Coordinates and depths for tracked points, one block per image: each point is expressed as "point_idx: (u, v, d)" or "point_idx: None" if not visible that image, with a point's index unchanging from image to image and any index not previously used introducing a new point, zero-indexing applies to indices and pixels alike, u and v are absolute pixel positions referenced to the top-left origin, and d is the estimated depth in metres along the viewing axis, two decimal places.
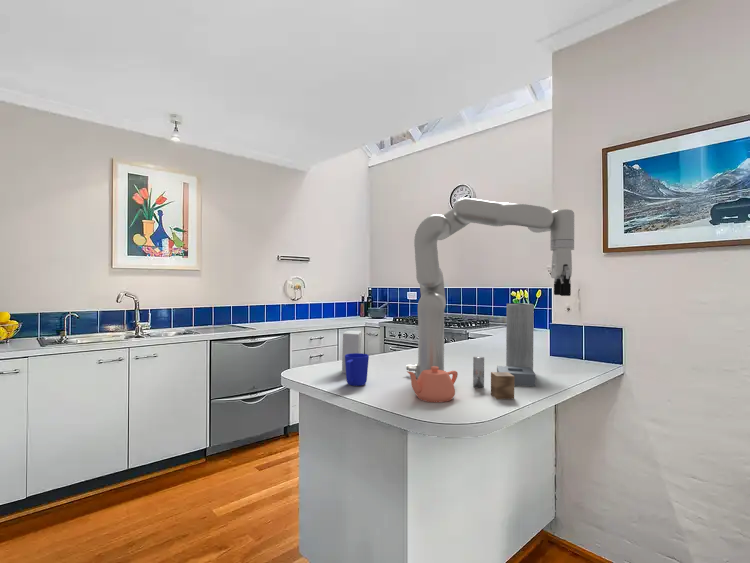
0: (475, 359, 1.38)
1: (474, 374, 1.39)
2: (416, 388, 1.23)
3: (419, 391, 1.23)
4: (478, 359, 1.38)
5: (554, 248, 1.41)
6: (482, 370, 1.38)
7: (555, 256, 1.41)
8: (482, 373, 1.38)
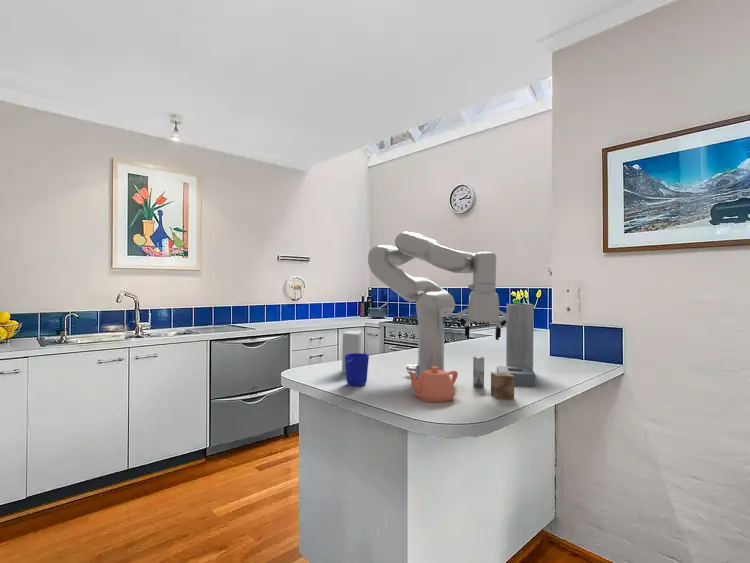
0: (475, 359, 1.38)
1: (474, 374, 1.39)
2: (416, 388, 1.23)
3: (419, 391, 1.23)
4: (478, 359, 1.38)
5: (491, 291, 1.37)
6: (482, 370, 1.38)
7: (492, 300, 1.38)
8: (482, 373, 1.38)
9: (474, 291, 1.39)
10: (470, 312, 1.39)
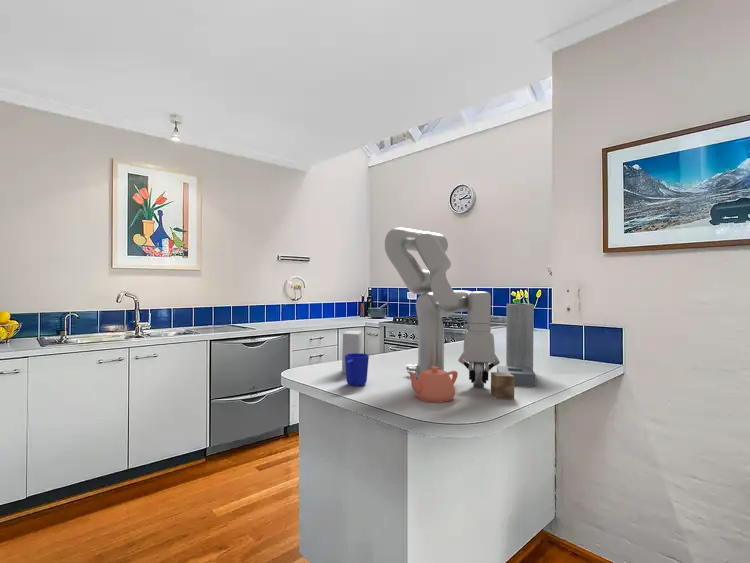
0: None
1: (474, 374, 1.39)
2: (416, 388, 1.23)
3: (419, 391, 1.23)
4: None
5: (486, 331, 1.36)
6: (482, 370, 1.38)
7: (487, 340, 1.36)
8: (482, 373, 1.38)
9: (469, 331, 1.39)
10: (465, 352, 1.38)
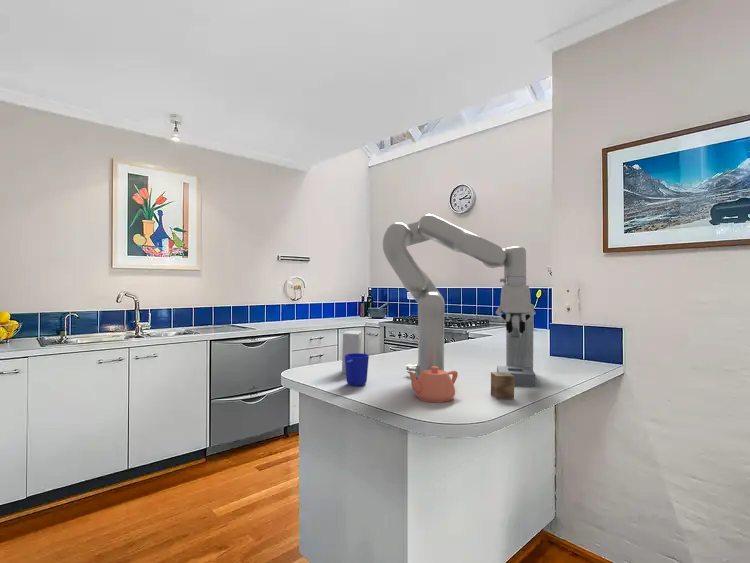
0: None
1: (511, 325, 1.47)
2: (416, 388, 1.23)
3: (419, 391, 1.23)
4: None
5: (522, 284, 1.45)
6: (519, 321, 1.46)
7: (523, 292, 1.45)
8: (519, 323, 1.46)
9: (506, 284, 1.47)
10: (503, 304, 1.46)
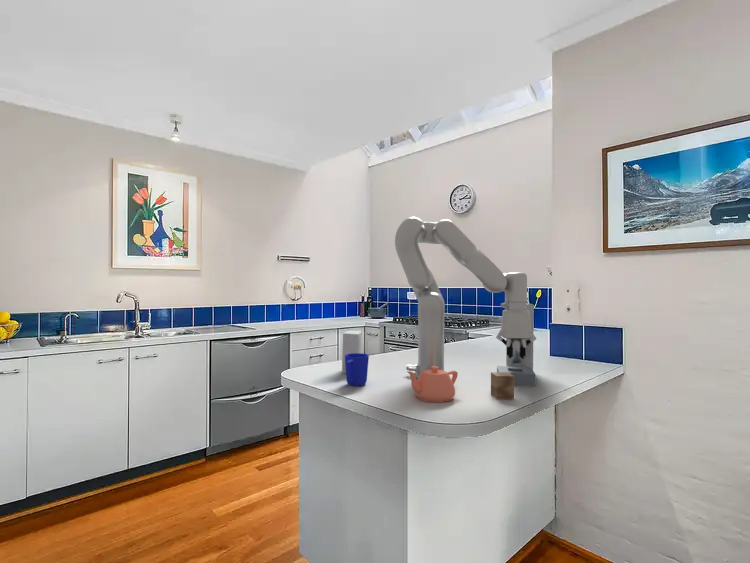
0: None
1: (512, 350, 1.47)
2: (416, 388, 1.23)
3: (419, 391, 1.23)
4: None
5: (523, 309, 1.45)
6: (519, 346, 1.47)
7: (524, 318, 1.45)
8: (519, 349, 1.47)
9: (507, 309, 1.47)
10: (503, 329, 1.47)
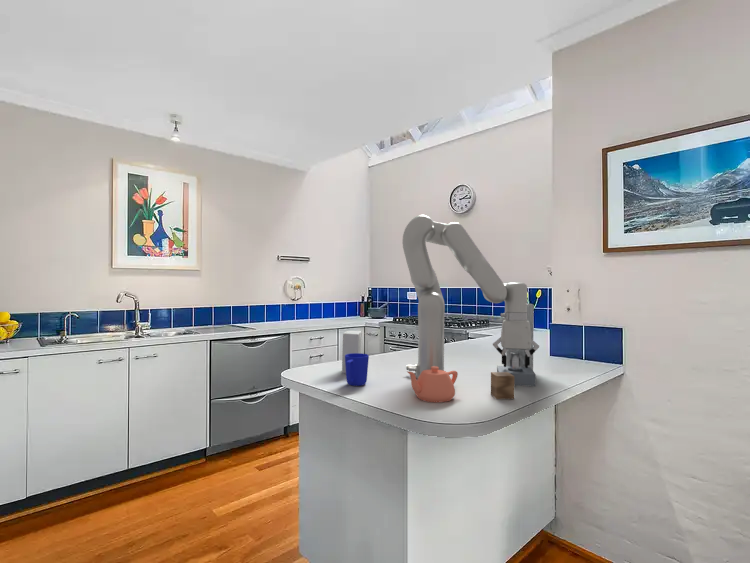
0: (512, 355, 1.47)
1: (511, 369, 1.48)
2: (416, 388, 1.23)
3: (419, 391, 1.23)
4: (515, 355, 1.46)
5: (523, 320, 1.45)
6: (519, 365, 1.47)
7: (524, 328, 1.45)
8: (519, 368, 1.47)
9: (506, 320, 1.47)
10: (503, 340, 1.47)
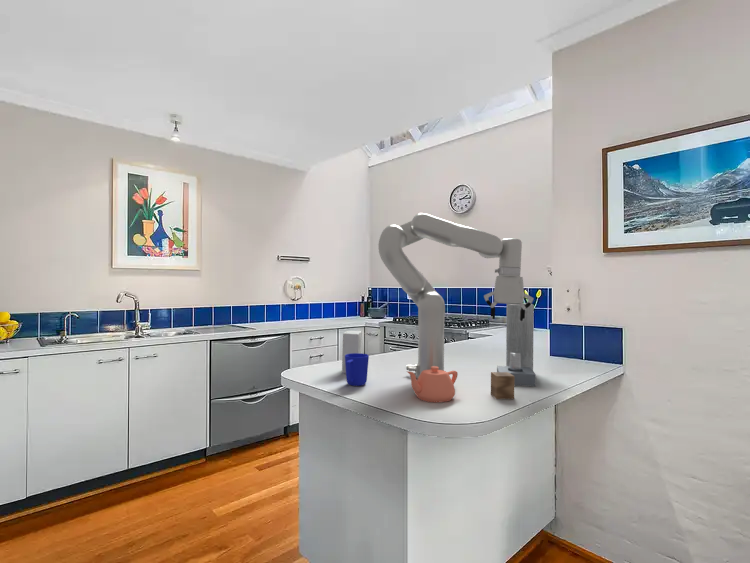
0: (512, 355, 1.47)
1: (511, 369, 1.47)
2: (416, 388, 1.23)
3: (419, 391, 1.23)
4: (515, 355, 1.46)
5: (516, 275, 1.47)
6: (519, 365, 1.47)
7: (517, 283, 1.47)
8: (519, 368, 1.47)
9: (500, 275, 1.49)
10: (496, 294, 1.49)
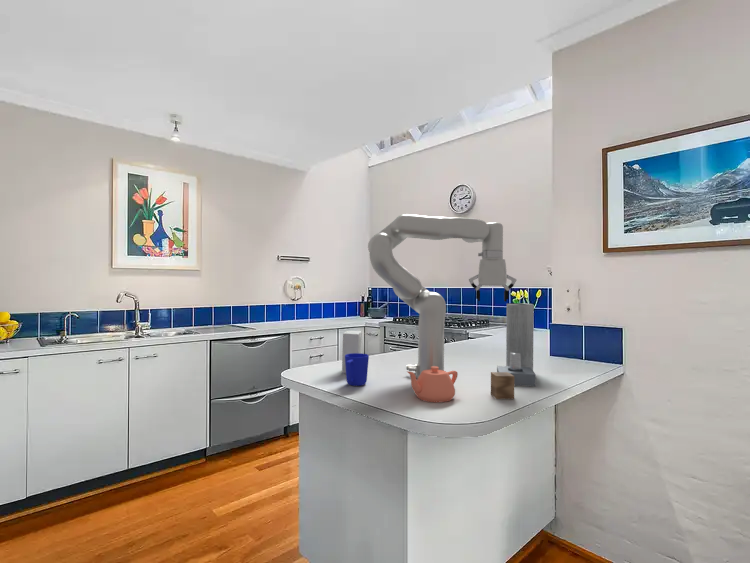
0: (512, 355, 1.47)
1: (511, 369, 1.47)
2: (416, 388, 1.23)
3: (419, 391, 1.23)
4: (515, 355, 1.46)
5: (499, 257, 1.53)
6: (519, 365, 1.47)
7: (499, 265, 1.53)
8: (519, 368, 1.47)
9: (483, 258, 1.55)
10: (480, 277, 1.54)
